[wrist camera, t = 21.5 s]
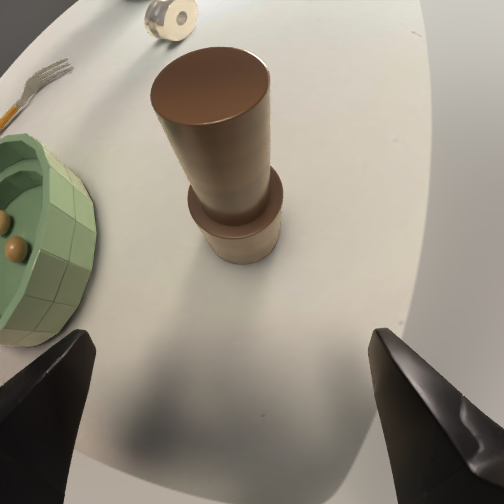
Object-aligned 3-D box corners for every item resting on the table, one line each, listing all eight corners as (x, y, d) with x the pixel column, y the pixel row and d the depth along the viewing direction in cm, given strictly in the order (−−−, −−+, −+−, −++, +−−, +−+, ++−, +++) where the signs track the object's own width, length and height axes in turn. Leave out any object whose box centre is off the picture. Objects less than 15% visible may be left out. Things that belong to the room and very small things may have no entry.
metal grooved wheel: (171, 50, 24) (158, 11, 19) (149, 46, 24) (135, 10, 19) (201, 24, 25) (193, -13, 20) (179, 21, 25) (170, -14, 20)
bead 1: (4, 230, 17) (2, 243, 19) (15, 212, 19) (13, 226, 20) (-14, 218, 16) (-15, 231, 18) (-2, 201, 18) (-3, 214, 19)
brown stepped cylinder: (286, 257, 18) (314, 129, 6) (211, 270, 18) (124, 165, 6) (272, 190, 19) (273, 28, 8) (203, 202, 19) (135, 54, 8)
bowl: (107, 343, 17) (48, 343, 11) (-19, 346, 17) (-69, 341, 11) (105, 151, 21) (68, 104, 15) (-10, 196, 21) (-49, 170, 15)
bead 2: (12, 242, 18) (17, 225, 18) (29, 258, 19) (35, 242, 18) (-2, 256, 17) (2, 239, 16) (15, 272, 17) (20, 256, 17)
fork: (-52, 189, 20) (66, 56, 22) (-54, 178, 20) (61, 50, 22) (-39, 193, 23) (74, 68, 25) (-42, 183, 23) (69, 62, 25)
